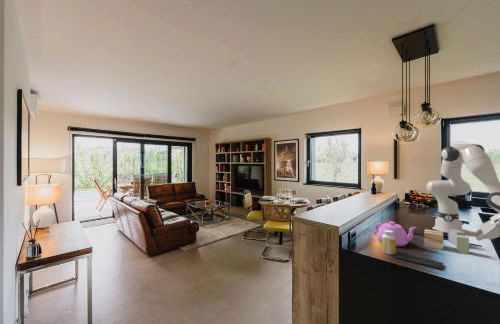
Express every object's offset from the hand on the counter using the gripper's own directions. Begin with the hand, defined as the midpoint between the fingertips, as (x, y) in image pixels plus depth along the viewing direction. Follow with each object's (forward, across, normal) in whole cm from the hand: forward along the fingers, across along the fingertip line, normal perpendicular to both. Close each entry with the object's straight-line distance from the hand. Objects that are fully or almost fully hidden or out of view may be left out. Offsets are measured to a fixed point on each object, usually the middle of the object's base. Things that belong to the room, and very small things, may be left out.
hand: (475, 237), depth 124 cm
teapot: (+34, +8, -20) cm, 41 cm away
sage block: (+11, 0, +3) cm, 11 cm away
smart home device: (+25, +32, -10) cm, 42 cm away
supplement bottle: (+34, +29, -20) cm, 49 cm away
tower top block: (+17, -1, -9) cm, 19 cm away
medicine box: (+12, -14, +2) cm, 19 cm away
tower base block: (+20, 0, -6) cm, 21 cm away
